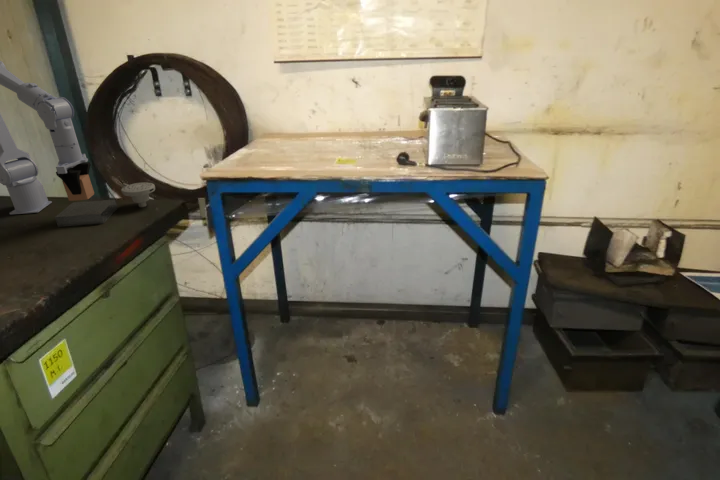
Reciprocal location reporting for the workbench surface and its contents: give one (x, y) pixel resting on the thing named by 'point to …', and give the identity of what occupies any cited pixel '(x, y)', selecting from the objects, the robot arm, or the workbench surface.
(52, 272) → the workbench surface
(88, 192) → the terracotta block
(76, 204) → the steel base
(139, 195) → the showerhead
